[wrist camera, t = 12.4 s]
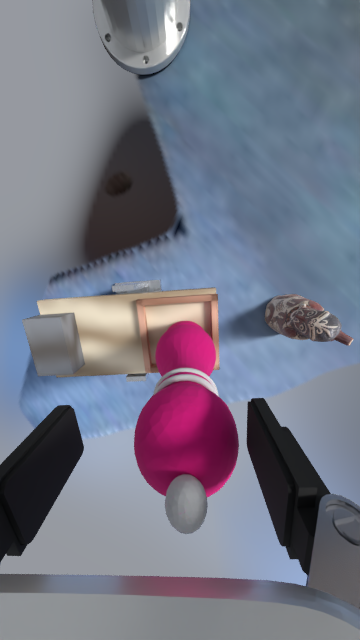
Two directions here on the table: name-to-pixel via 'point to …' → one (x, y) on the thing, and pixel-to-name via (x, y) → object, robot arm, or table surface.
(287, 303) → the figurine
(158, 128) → the table surface
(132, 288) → the fulcrum
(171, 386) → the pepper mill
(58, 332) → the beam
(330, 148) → the table surface
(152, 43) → the robot arm
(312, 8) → the table surface
